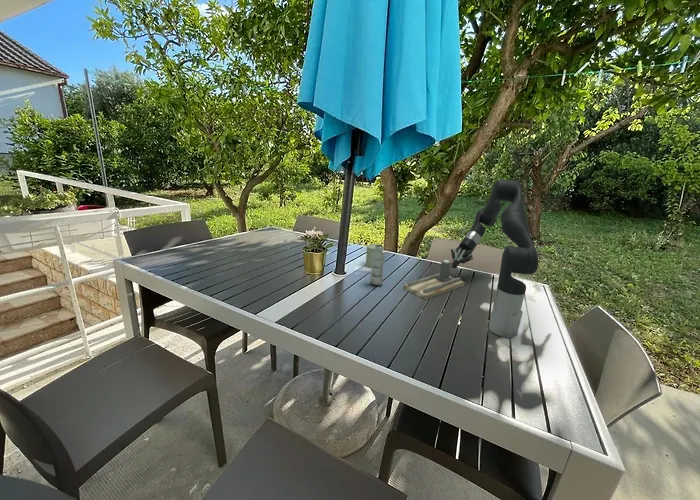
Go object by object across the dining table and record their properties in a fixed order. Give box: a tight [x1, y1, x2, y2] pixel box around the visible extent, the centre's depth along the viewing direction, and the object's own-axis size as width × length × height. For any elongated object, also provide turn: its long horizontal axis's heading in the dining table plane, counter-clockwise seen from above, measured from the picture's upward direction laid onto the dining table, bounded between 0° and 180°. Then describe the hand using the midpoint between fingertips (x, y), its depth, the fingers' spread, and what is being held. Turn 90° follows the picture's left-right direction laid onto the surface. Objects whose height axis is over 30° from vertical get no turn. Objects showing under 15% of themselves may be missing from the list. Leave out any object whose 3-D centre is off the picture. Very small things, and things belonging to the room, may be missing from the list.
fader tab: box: [436, 259, 452, 282], centre depth 157 cm, size 6×5×10 cm
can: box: [365, 243, 379, 269], centre depth 179 cm, size 9×9×12 cm
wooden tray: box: [402, 272, 466, 301], centre depth 155 cm, size 14×30×4 cm, turn 128°
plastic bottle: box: [369, 244, 386, 286], centre depth 152 cm, size 6×7×20 cm
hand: (453, 267), depth 161 cm, fingers closed
